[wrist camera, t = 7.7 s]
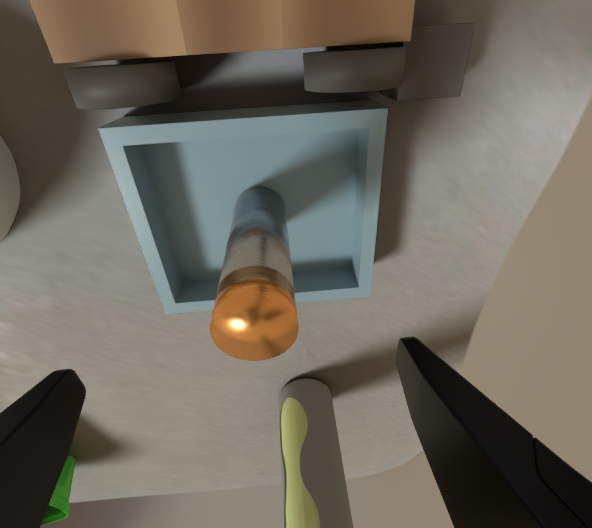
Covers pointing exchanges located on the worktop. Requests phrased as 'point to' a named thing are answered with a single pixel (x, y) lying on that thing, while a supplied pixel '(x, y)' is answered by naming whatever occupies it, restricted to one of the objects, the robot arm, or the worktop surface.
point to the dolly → (250, 45)
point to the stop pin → (256, 281)
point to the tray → (245, 174)
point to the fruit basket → (61, 494)
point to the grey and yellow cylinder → (311, 458)
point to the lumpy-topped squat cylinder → (8, 189)
